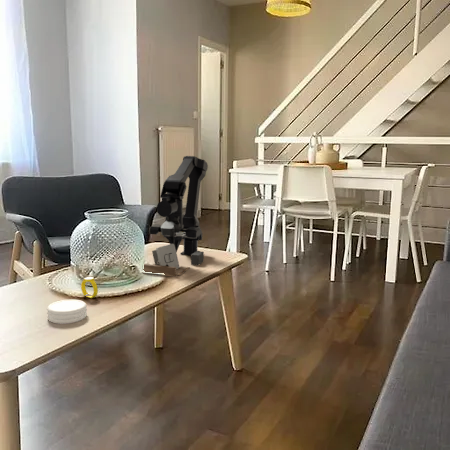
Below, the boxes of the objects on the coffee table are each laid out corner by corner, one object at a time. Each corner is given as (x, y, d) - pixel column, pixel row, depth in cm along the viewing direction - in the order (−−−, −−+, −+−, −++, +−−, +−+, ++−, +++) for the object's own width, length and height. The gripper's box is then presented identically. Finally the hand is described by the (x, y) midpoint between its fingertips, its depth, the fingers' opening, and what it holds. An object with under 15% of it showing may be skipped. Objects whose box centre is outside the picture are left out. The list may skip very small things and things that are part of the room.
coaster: (73, 308, 137) (72, 296, 136) (94, 317, 130) (94, 304, 130) (40, 317, 129) (39, 305, 128) (61, 327, 123) (60, 314, 122)
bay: (153, 264, 183) (153, 256, 183) (190, 267, 179) (190, 259, 179) (139, 272, 172) (139, 264, 171) (177, 276, 168) (177, 268, 167)
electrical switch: (163, 274, 171) (161, 248, 170) (152, 273, 174) (150, 247, 172) (180, 268, 178) (178, 243, 177) (169, 267, 181) (167, 243, 180)
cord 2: (196, 261, 190) (196, 251, 189) (203, 261, 189) (203, 251, 188) (190, 264, 184) (191, 254, 183) (198, 265, 183) (198, 255, 183)
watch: (79, 297, 146) (78, 277, 145) (87, 294, 148) (85, 275, 148) (92, 300, 143) (91, 280, 142) (100, 297, 145) (98, 278, 144)
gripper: (142, 214, 175) (143, 256, 178) (191, 217, 170) (191, 260, 173) (154, 209, 186) (155, 249, 189) (201, 212, 181) (201, 253, 184)
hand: (174, 253), depth 183 cm, fingers closed
